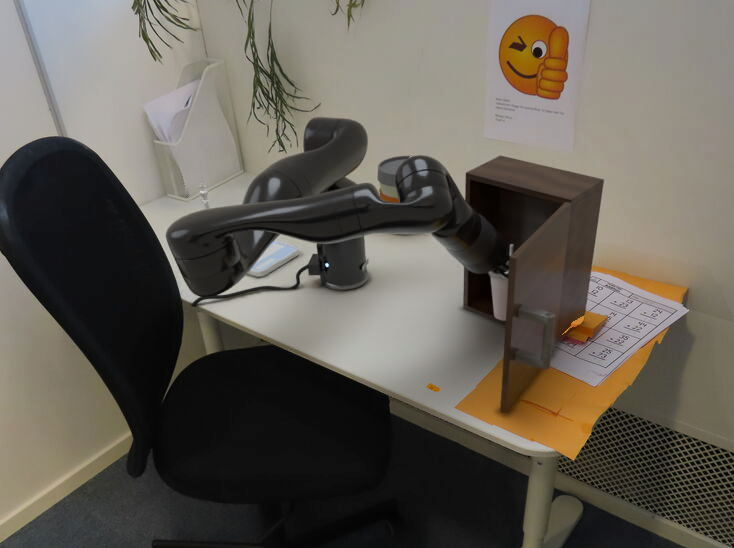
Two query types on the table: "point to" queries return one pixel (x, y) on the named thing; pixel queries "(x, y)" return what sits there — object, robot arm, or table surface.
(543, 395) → the table surface
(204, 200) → the chess piece
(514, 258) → the cupboard door
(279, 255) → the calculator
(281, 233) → the robot arm
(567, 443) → the table surface
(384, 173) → the reusable coffee cup
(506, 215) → the cupboard
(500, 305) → the smoothie
